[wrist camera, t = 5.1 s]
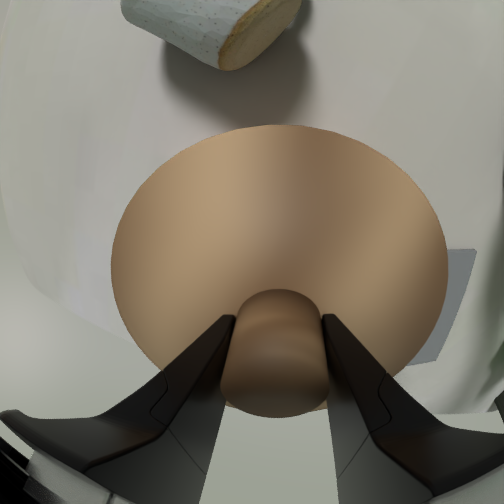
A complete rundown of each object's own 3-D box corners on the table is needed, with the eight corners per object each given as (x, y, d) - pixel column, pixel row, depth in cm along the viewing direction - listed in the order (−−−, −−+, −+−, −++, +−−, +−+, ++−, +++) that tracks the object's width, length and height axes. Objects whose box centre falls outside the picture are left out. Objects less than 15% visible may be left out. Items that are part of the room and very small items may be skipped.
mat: (474, 249, 18) (476, 251, 18) (434, 357, 24) (435, 360, 24) (308, 253, 20) (309, 256, 20) (302, 371, 26) (302, 375, 26)
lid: (463, 138, 6) (538, 159, 3) (395, 395, 12) (408, 449, 9) (85, 156, 8) (10, 182, 5) (166, 394, 14) (147, 444, 10)
